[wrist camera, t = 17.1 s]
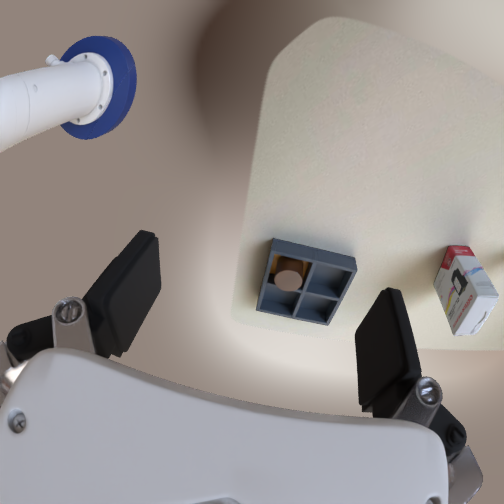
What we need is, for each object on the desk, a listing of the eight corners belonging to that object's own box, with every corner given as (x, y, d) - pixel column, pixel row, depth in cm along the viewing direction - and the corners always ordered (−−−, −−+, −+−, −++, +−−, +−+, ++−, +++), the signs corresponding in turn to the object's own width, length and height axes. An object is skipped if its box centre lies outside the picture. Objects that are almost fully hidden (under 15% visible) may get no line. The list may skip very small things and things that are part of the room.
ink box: (448, 244, 36) (478, 295, 26) (470, 246, 35) (501, 295, 25) (432, 285, 41) (452, 337, 31) (453, 285, 40) (475, 336, 30)
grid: (258, 298, 48) (255, 310, 46) (273, 238, 41) (271, 249, 38) (327, 313, 48) (328, 325, 46) (355, 257, 40) (357, 270, 38)
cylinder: (271, 262, 43) (268, 279, 39) (291, 248, 40) (290, 265, 37) (288, 278, 44) (286, 295, 41) (308, 265, 42) (308, 283, 39)
